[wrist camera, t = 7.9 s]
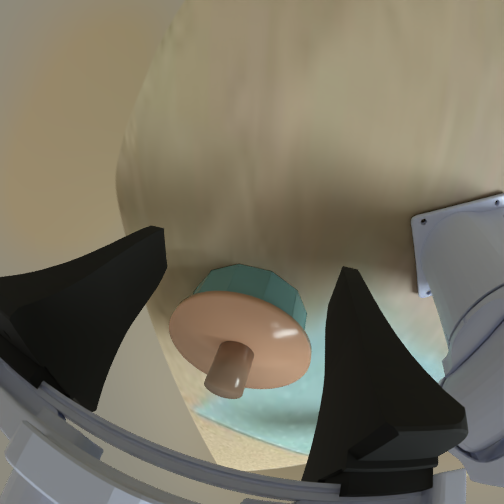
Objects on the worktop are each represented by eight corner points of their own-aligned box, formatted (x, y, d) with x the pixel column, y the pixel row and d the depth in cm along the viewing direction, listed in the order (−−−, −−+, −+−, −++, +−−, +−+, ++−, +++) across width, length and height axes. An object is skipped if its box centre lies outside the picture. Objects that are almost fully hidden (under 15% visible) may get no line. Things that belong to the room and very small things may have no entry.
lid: (333, 317, 20) (330, 371, 16) (289, 393, 27) (281, 431, 24) (169, 271, 21) (138, 313, 17) (176, 359, 29) (158, 393, 25)
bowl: (281, 253, 23) (272, 285, 19) (317, 339, 27) (313, 371, 24) (178, 277, 27) (160, 304, 24) (227, 348, 32) (217, 375, 28)
